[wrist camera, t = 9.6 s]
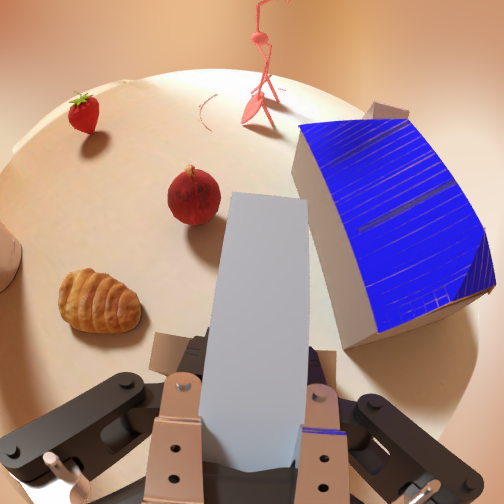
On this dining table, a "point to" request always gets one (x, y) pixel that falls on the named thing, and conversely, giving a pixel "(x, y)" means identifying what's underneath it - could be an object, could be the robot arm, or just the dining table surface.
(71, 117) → the strawberry
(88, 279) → the pastry
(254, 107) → the figurine
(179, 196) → the onion
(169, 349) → the walnut blocks
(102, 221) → the dining table surface
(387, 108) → the grey house-shaped block
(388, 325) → the house
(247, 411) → the grey notched square slab
